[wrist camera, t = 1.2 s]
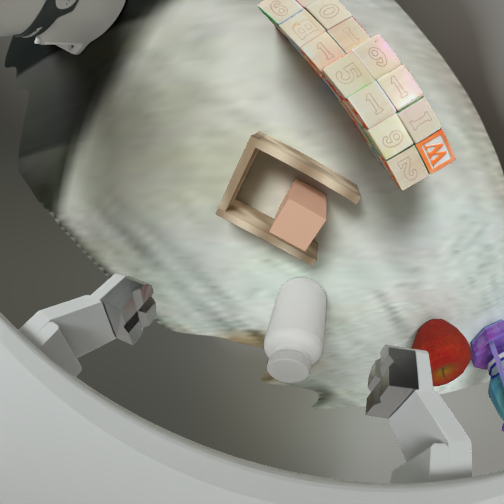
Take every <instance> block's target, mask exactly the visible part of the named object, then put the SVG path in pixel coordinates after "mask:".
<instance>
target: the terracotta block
mask: <svg viewBox="0 0 504 504" xmlns="http://www.w3.org/2000/svg"><path fill="white" fill-rule="evenodd" d="M325 221H326V194H324V193H322V192H321V191H319V190H317V189H315V188H314V187H312V186H310V185H308V184H307V183H305V182H303V181H301V180H299V179H298V178H295V180H294V182H293V184H292V185H291V187H290V189H289V191H288V192H287V194H286V196H285V198H284V199H283V201H282V203H281V205H280V207H279V209H278V212H277V214H276V217H275V219H274V222H273V224H272V226H271V229H270V231H269V232H270V233H272V234H274V235H276V236H278V237H280V238H281V239H283V240H285V241H287V242H289V243H291V244H293V245H294V246H296V247H298V248H300V249H302V250H303V251H306V249H307V248H308V246H309V245H310V243H311V242H312V240H313V239H314V237H315V236H316V234H317V233H318V231H319V230H320V229H321V227H322V226H323V224H324V223H325Z"/></svg>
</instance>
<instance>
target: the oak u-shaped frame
mask: <svg viewBox="0 0 504 504" xmlns="http://www.w3.org/2000/svg"><path fill="white" fill-rule="evenodd" d="M259 150H261V151H263V152H265V153H267V154H269V155H271V156H273V157H275V158H277V159H279V160H281V161H283V162H284V163H286V164H288V165H290V166H292V167H294V168H296V169H297V170H299V171H301V172H303V173H305V174H306V175H308V176H310V177H312V178H313V179H315V180H317V181H319V182H320V183H322V184H324V185H326V186H327V187H329V188H331V189H332V190H334V191H336V192H337V193H339V194H341V195H342V196H344V197H346V198H347V199H349V200H350V201H352V202H354V203H355V204H357V203H358V201H359V200H360V198H361V195H360V193H359V190H358V187H357V185H355V184H354V183H352V182H350V181H349V180H347V179H346V178H344V177H342V176H341V175H339V174H337V173H336V172H334V171H332V170H331V169H329V168H327V167H326V166H324V165H322V164H320V163H319V162H317V161H315V160H313V159H312V158H310V157H308V156H306V155H304V154H303V153H301V152H299V151H297V150H295V149H293V148H291V147H290V146H288V145H286V144H284V143H282V142H280V141H278V140H276V139H274V138H272V137H270V136H268V135H266V134H264V133H262V132H260V131H259V132H257V133H256V134H254V135H252V136H251V137H250V139H249V141H248V143H247V146H246V148H245V150H244V152H243V154H242V156H241V158H240V160H239V163H238V165H237V167H236V169H235V171H234V174H233V176H232V178H231V180H230V182H229V185H228V187H227V189H226V191H225V194H224V196H223V198H222V200H221V203H220V205H219V207H218V210H217V212H216V215H218V216H220V217H222V218H224V219H226V220H228V221H229V222H231V223H233V224H235V225H237V226H239V227H241V228H243V229H245V230H246V231H248V232H250V233H252V234H254V235H256V236H258V237H260V238H261V239H263V240H265V241H267V242H269V243H271V244H273V245H274V246H276V247H278V248H280V249H282V250H284V251H286V252H287V253H289V254H291V255H293V256H295V257H297V258H298V259H300V260H302V261H304V262H306V263H308V264H309V265H311V266H313V265H314V263H315V262H316V261H317V249H318V243H316V242H314V241H313V240H312V242H311V243H310V245H309V246H308V248H307V249H306V251H303V250H302V249H300V248H298V247H296V246H294V245H293V244H291V243H289V242H287V241H285V240H283V239H281V238H280V237H278V236H276V235H274V234H272V233H270V232H269V231H270V229H271V226H272V224H273V222H274V219H273V218H271V217H269V216H267V215H265V214H263V213H261V212H260V211H258V210H256V209H254V208H252V207H250V206H248V205H246V204H244V203H243V202H241V201H239V200H237V199H236V197H237V195H238V193H239V191H240V189H241V187H242V185H243V182H244V180H245V178H246V176H247V174H248V172H249V170H250V168H251V166H252V164H253V162H254V160H255V158H256V156H257V154H258V152H259Z"/></svg>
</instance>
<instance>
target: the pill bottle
mask: <svg viewBox="0 0 504 504" xmlns="http://www.w3.org/2000/svg"><path fill="white" fill-rule="evenodd" d="M326 305H327V297H326V293H325V291H324V289H323V288H322V286H321V285H320V284H318V283H317V282H315V281H313V280H311V279H308V278H294V279H291V280H289V281H287V282H285V283H284V284H283V285H282V286H281V288H280V289H279V292H278V294H277V298H276V301H275V305H274V308H273V312H272V315H271V319H270V322H269V326H268V329H267V333H266V336H265V340H264V349H265V353H266V355H267V356H268V358H269V361H268V365H267V370H268V373H269V374H270V375H271V376H272V377H273V378H275V379H277V380H279V381H282V382H286V383H297V382H301V381H303V380H305V379H306V378H307V377H308V375H309V372H310V366H311V365H313V364H314V363H316V362H317V361H318V359H319V358H320V356H321V354H322V352H323V344H324V333H325V320H326Z"/></svg>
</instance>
